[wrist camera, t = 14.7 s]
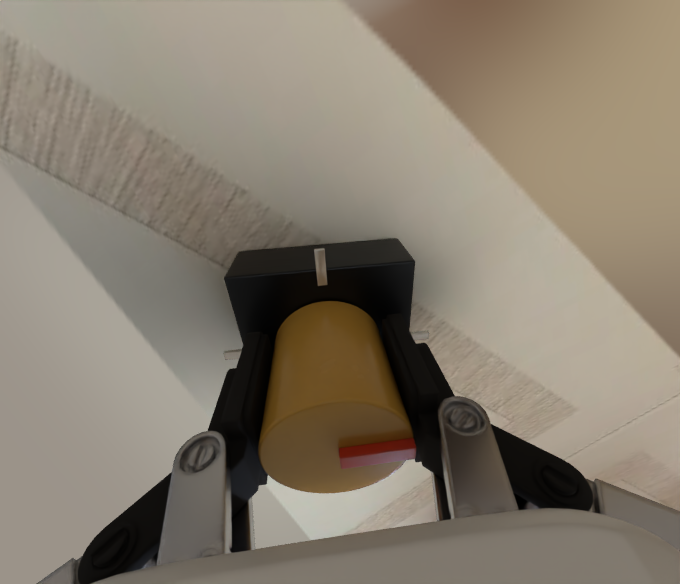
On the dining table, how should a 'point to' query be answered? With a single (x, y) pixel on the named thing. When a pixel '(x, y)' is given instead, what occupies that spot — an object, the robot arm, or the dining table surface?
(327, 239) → the dining table surface
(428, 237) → the dining table surface
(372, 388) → the valve knob
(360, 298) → the plate
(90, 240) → the dining table surface
